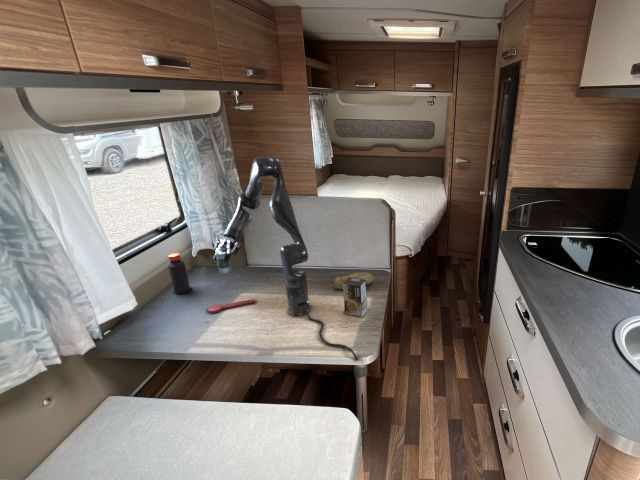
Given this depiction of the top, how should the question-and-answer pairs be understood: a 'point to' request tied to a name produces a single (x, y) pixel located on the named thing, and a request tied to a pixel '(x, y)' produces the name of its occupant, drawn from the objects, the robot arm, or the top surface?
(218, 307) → the spoon
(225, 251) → the can
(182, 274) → the bottle
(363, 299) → the coffee box
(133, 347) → the top surface
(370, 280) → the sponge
